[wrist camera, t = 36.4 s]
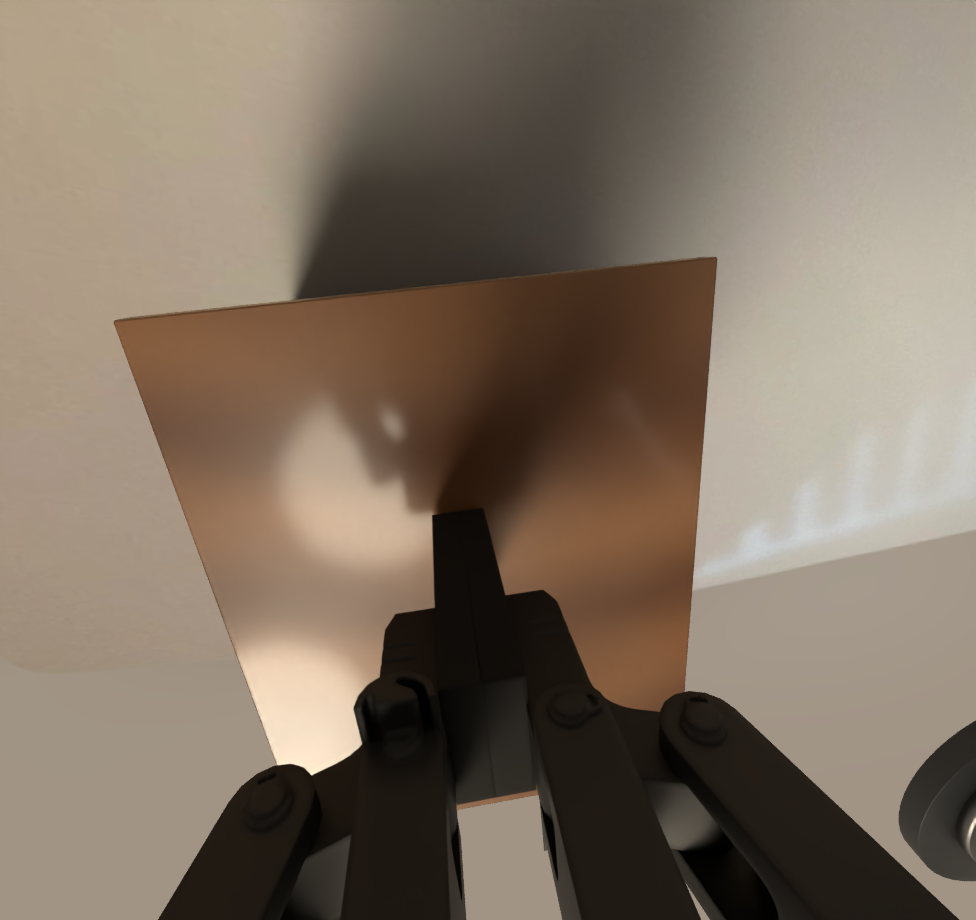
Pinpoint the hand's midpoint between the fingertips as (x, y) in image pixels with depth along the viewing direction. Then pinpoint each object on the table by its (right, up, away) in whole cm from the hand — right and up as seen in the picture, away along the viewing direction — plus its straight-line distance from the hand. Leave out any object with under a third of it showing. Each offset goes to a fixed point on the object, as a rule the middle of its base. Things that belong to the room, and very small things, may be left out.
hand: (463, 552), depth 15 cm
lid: (0, -2, +2) cm, 2 cm away
